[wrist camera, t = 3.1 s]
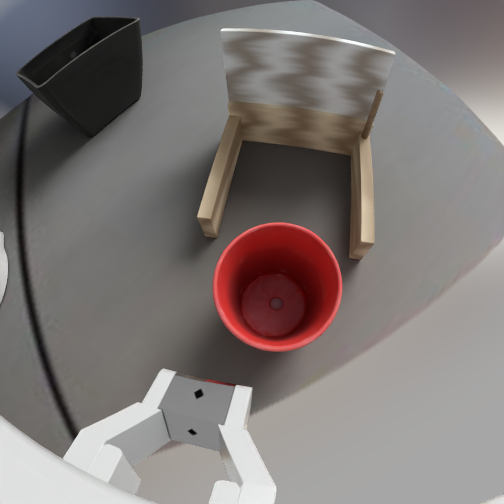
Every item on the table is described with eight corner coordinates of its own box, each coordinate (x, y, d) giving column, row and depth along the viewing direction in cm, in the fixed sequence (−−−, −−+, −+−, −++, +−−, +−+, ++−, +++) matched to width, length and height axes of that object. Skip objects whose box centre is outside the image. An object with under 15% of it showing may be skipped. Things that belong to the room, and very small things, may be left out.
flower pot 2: (337, 287, 33) (363, 257, 24) (291, 372, 30) (303, 375, 21) (258, 244, 35) (256, 201, 26) (207, 323, 32) (186, 306, 23)
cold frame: (205, 236, 36) (162, 132, 19) (234, 132, 42) (222, 28, 25) (360, 259, 34) (429, 170, 17) (360, 150, 40) (394, 51, 24)
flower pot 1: (49, 126, 47) (13, 71, 32) (115, 72, 52) (92, 15, 37) (85, 158, 42) (37, 88, 27) (164, 92, 47) (141, 17, 32)
